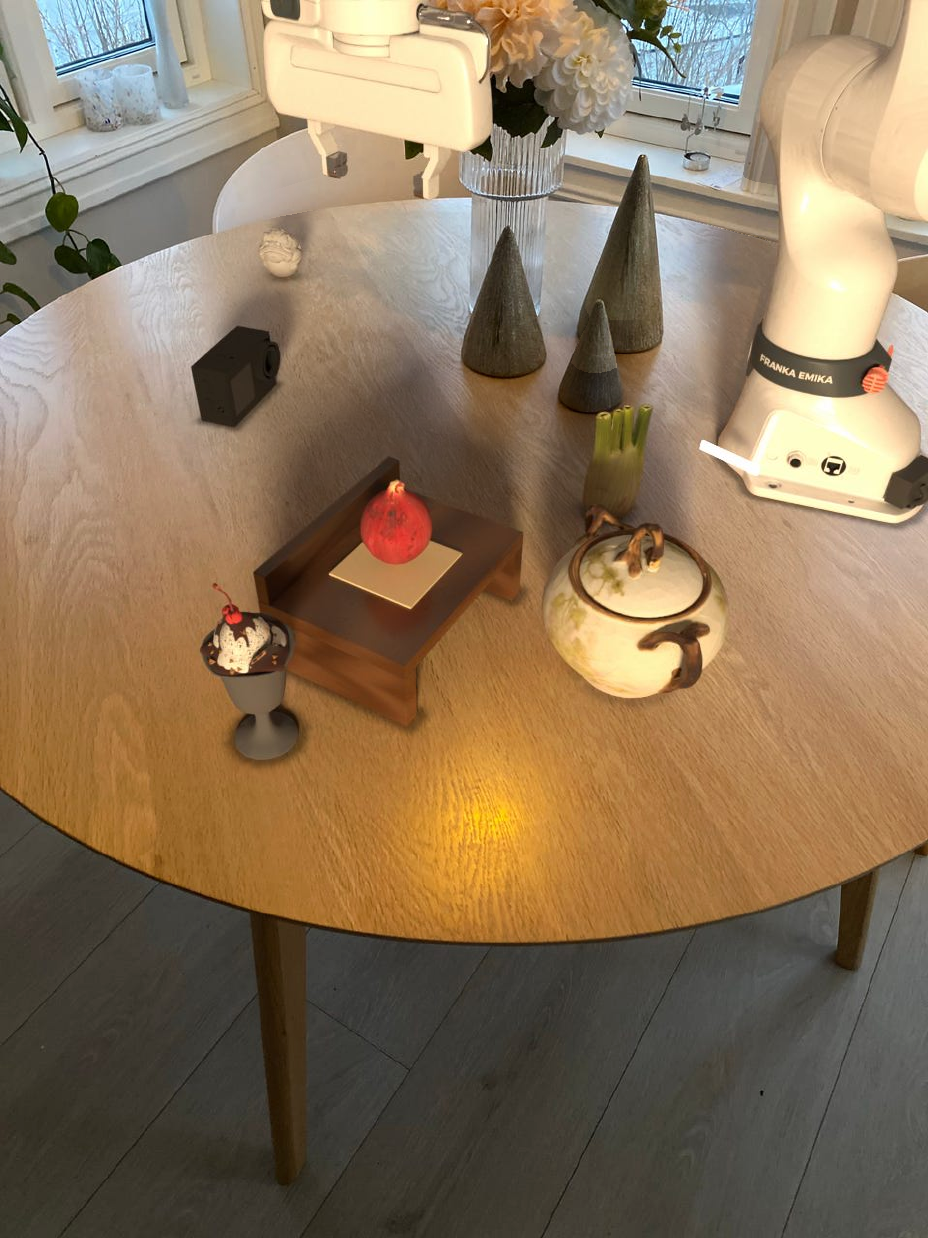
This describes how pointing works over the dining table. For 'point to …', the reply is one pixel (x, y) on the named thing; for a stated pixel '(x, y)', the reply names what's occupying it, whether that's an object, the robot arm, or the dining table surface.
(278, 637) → the sundae
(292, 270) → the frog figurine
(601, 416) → the fennel bulb
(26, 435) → the dining table surface
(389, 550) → the pomegranate
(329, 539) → the shelf
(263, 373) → the digital camera
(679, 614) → the sugar bowl
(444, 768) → the dining table surface
